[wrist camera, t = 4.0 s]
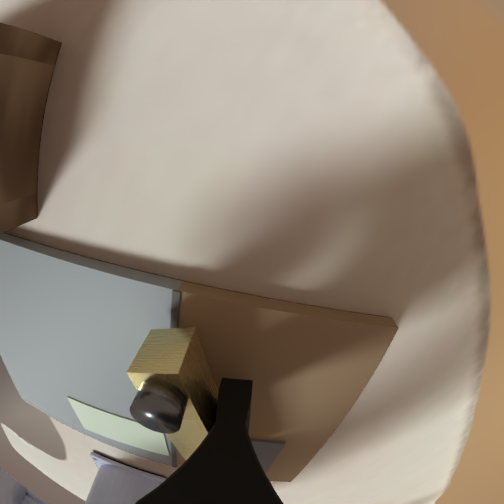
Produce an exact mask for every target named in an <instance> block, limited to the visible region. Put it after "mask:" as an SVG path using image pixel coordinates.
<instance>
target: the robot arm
mask: <svg viewBox="0 0 504 504" xmlns="http://www.w3.org/2000/svg"><path fill="white" fill-rule="evenodd" d="M252 385H253V380H243V379H231V378H222V380H221V383H220V387H219V391H218V401H217V413H216V422H215V424H214V425H213V427H212V428H211V430H210V431H209V433H208V434H207V436H206V437H205V438H204V440H203V441H202V442H201V444H200V445H199V446H198V448H197V449H196V450H195V451H194V452H193V454H192V455H191V456H190V457H189V458H188V459H187V460H186V461H185V462H184V463H183V464H182V465H181V466H180V467H179V468H178V469H177V470H176V471H175V472H174V473H173V474H172V475H171V476H170V477H168V478H167V479H165V478H163V477H160V476H157V475H153V474H150V473H147V472H144V471H140V470H137V469H135V468H132V467H129V466H126V465H123V464H121V463H118V462H115V461H113V460H110V459H108V458H105V457H103V456H101V455H98V454H96V453H94V452H91V453H90V456H91V458H92V459H93V461H94V462H95V464H96V465H97V467H98V468H99V470H98V473H97V475H96V477H95V480H94V482H93V485H92V487H91V490H90V492H89V495H88V497H87V500H86V502H85V504H283V502H282V501H281V499H280V498H279V496H278V495H277V493H276V492H275V490H274V488H273V487H272V485H271V483H270V481H269V480H268V478H267V476H266V474H265V472H264V470H263V468H262V466H261V464H260V462H259V460H258V458H257V455H256V453H255V451H254V448H253V445H252V443H251V440H250V437H249V434H248V433H249V423H250V411H251V398H252ZM0 504H49V503H47V502H45V501H44V500H42V499H41V498H39V497H38V496H36V495H35V494H33V493H32V492H30V491H29V490H27V488H26V487H24V486H23V485H22V484H20V483H19V482H18V481H16V480H15V479H14V478H12V477H11V476H10V475H9V474H7V473H6V472H5V471H4V470H3V469H1V468H0Z"/></svg>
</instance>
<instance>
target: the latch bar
mask: <svg viewBox="0 0 504 504" xmlns="http://www.w3.org/2000/svg"><path fill="white" fill-rule="evenodd" d="M127 374H128V376H129V378H130V379H131V381H132V383H133V385H134V386H135V388H136V390H137V393H136V396H135V398H134V400H133V402H132V404H131V406H130V413H131V415H132V417H133V418H134V419H135V420H136V421H137V422H138V423H139V424H141V425H142V426H144V427H146V428H148V429H150V430H152V431H155V432H159V433H165V434H166V435H167V436H168V438H169V439H170V440H171V442H172V443H173V444H174V446H175V447H176V448H177V450H178V451H179V452H180V454H181V455H182V456H183V457H184V459H185V460H187V459H188V458H189V457H190V456H191V455H192V454H193V452H194V451H195V450H196V449H197V448H198V446H199V445H200V444H201V442H202V441H203V440H204V438H205V437H206V436H207V434H208V433H209V431H210V430H211V428H212V427H213V425H214V424H215V422H216V413H217V401H218V389H217V387H216V384H215V382H214V379H213V376H212V374H211V371H210V368H209V365H208V362H207V360H206V357H205V354H204V351H203V348H202V345H201V342H200V339H199V337H198V334H197V331H196V327H188V328H172V329H152V330H150V332H149V334H148V335H147V337H146V339H145V340H144V342H143V344H142V346H141V347H140V349H139V351H138V353H137V354H136V356H135V358H134V360H133V361H132V363H131V365H130V367H129V369H128V370H127Z"/></svg>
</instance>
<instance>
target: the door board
mask: <svg viewBox="0 0 504 504" xmlns="http://www.w3.org/2000/svg"><path fill="white" fill-rule="evenodd" d="M188 327H196V331H197V334H198V337H199V339H200V342H201V345H202V348H203V351H204V354H205V357H206V360H207V362H208V365H209V368H210V371H211V374H212V376H213V379H214V382H215V384H216V387H217V389H218V391H219V387H220V383H221V380H222V378H231V379H243V380H253V385H252V398H251V411H250V423H249V433H248V434H249V437H250V440H251V443H252V445H253V448H254V451H255V453H256V455H257V458H258V460H259V462H260V464H261V466H262V468H263V470H264V472H265V474H266V476H267V478H268V480H269V481H282V482H291V481H292V480H293V479H294V478H295V477H296V476H297V475H298V474H299V473H300V471H301V470H302V469H303V468H304V467H305V466H306V465H307V464H308V462H309V461H310V460H311V459H312V458H313V457H314V456H315V454H316V453H317V452H318V451H319V450H320V448H321V447H322V446H323V445H324V443H325V442H326V441H327V440H328V438H329V437H330V436H331V435H332V433H333V432H334V431H335V429H336V428H337V427H338V425H339V424H340V423H341V421H342V420H343V418H344V417H345V416H346V414H347V413H348V411H349V410H350V409H351V407H352V406H353V404H354V403H355V401H356V400H357V398H358V397H359V395H360V394H361V392H362V391H363V389H364V388H365V386H366V384H367V383H368V381H369V380H370V378H371V376H372V375H373V373H374V371H375V370H376V368H377V366H378V365H379V363H380V361H381V359H382V358H383V356H384V354H385V352H386V350H387V349H388V347H389V345H390V343H391V341H392V339H393V337H394V335H395V334H396V332H397V330H398V326H397V325H396V323H395V322H394V320H393V319H392V318H390V317H382V316H375V315H368V314H361V313H354V312H347V311H341V310H334V309H328V308H321V307H315V306H309V305H303V304H297V303H292V302H286V301H280V300H275V299H269V298H264V297H259V296H253V295H248V294H243V293H238V292H233V291H228V290H223V289H218V288H213V287H209V286H204V285H199V284H195V283H190V282H185V281H181V280H176V279H172V278H168V277H163V276H159V275H155V274H150V273H146V272H142V271H138V270H134V269H130V268H126V267H122V266H118V265H114V264H110V263H106V262H102V261H98V260H95V259H91V258H87V257H83V256H80V255H76V254H72V253H69V252H65V251H62V250H58V249H55V248H51V247H48V246H45V245H41V244H38V243H34V242H31V241H28V240H25V239H21V238H18V237H15V236H12V235H9V234H6V233H2V234H0V355H1V357H2V359H3V362H4V364H5V366H6V368H7V370H8V372H9V374H10V376H11V378H12V380H13V382H14V384H15V386H16V388H17V390H18V392H19V394H20V396H21V397H22V399H23V400H24V401H26V402H28V403H29V404H30V405H32V406H34V407H35V408H37V409H39V410H40V411H42V412H44V413H45V414H47V415H49V416H50V417H52V418H54V419H56V420H58V421H59V422H61V423H63V424H65V425H67V426H69V427H71V428H73V429H75V430H77V431H79V432H81V433H83V434H85V435H87V436H90V437H92V438H94V439H96V440H99V441H101V442H103V443H106V444H108V445H111V446H113V447H116V448H118V449H121V450H124V451H126V452H129V453H132V454H135V455H138V456H141V457H144V458H147V459H151V460H154V461H157V462H161V463H164V464H168V465H172V466H173V467H180V466H181V465H182V464H183V463H184V462H185V461H186V460H185V459H184V457H183V456H182V455H181V454H180V452H179V451H178V450H177V448H176V447H175V446H174V444H173V443H172V442H171V440H170V439H169V438H168V436H167V435H166V434H165V433H159V432H155V431H152V430H150V429H148V428H146V427H144V426H142V425H141V424H139V423H138V422H137V421H136V420H135V419H134V418H133V417H132V415H131V413H130V406H131V404H132V402H133V400H134V398H135V396H136V393H137V390H136V388H135V386H134V385H133V383H132V381H131V379H130V378H129V376H128V374H127V370H128V369H129V367H130V365H131V363H132V361H133V360H134V358H135V356H136V354H137V353H138V351H139V349H140V347H141V346H142V344H143V342H144V340H145V339H146V337H147V335H148V334H149V332H150V330H152V329H172V328H188Z"/></svg>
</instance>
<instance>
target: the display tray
mask: <svg viewBox="0 0 504 504" xmlns="http://www.w3.org/2000/svg"><path fill="white" fill-rule="evenodd" d="M60 46H61V43H60V42H58V41H55V40H53V39H50V38H47V37H44V36H41V35H38V34H36V33H33V32H29V31H26V30H23V29H20V28H17V27H13V26H10V25H6V24H2V23H0V234H2V233H4V232H6V231H9V230H11V229H13V228H15V227H17V226H20V225H22V224H24V223H27V222H29V221H31V220H34V219H36V218H37V171H38V156H39V145H40V137H41V129H42V122H43V116H44V110H45V104H46V99H47V94H48V90H49V85H50V81H51V77H52V73H53V69H54V66H55V62H56V59H57V55H58V52H59V49H60Z"/></svg>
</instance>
